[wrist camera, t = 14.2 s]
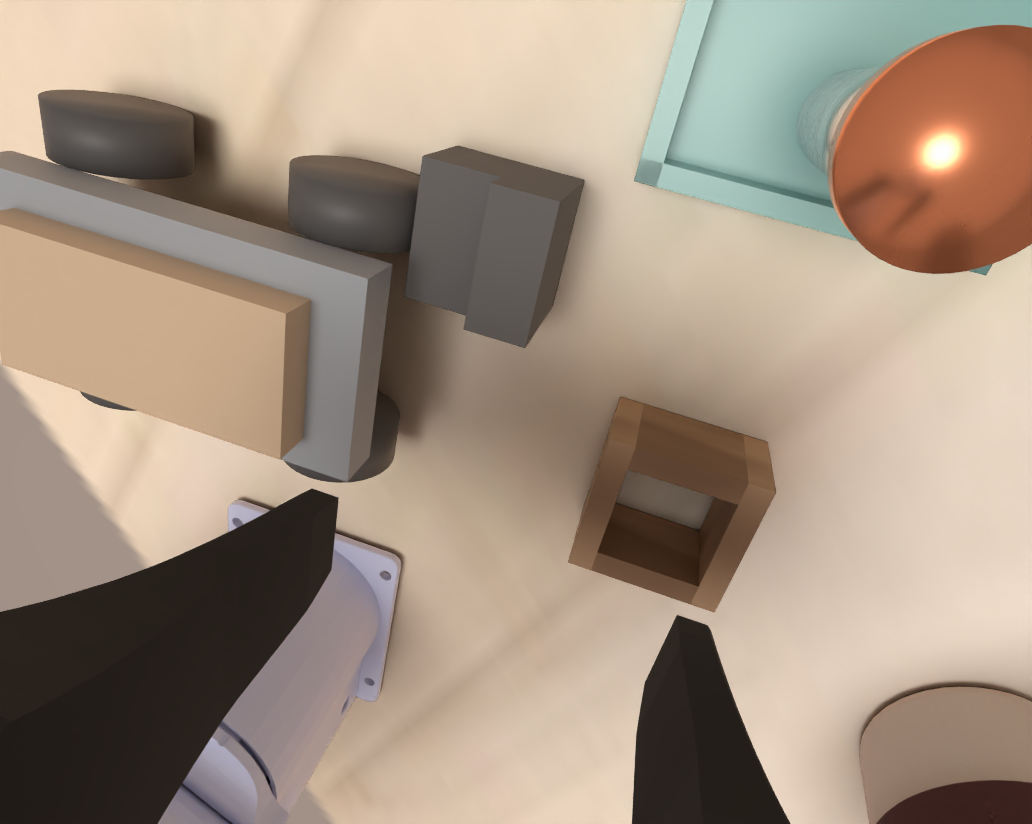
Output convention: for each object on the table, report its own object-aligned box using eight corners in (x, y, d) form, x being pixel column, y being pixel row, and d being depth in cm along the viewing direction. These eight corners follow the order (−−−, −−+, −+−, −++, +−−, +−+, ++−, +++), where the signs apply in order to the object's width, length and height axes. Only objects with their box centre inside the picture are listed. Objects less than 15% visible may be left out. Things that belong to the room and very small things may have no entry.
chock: (553, 304, 21) (525, 347, 18) (439, 270, 22) (390, 307, 18) (585, 179, 19) (560, 201, 16) (459, 145, 20) (408, 160, 16)
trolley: (451, 182, 20) (350, 224, 15) (411, 438, 25) (323, 547, 19) (113, 88, 22) (-101, 93, 16) (135, 347, 26) (-24, 423, 21)
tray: (961, 257, 18) (985, 275, 16) (639, 172, 19) (634, 181, 17) (1134, -50, 14) (1187, -65, 13) (729, -133, 15) (732, -157, 14)
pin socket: (713, 554, 24) (714, 612, 21) (582, 511, 25) (567, 562, 22) (767, 442, 22) (776, 492, 19) (620, 396, 22) (609, 439, 20)
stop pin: (880, 202, 17) (1014, 300, 10) (760, 169, 18) (797, 238, 10) (946, 68, 16) (1169, 59, 8) (813, 34, 16) (905, -4, 8)
